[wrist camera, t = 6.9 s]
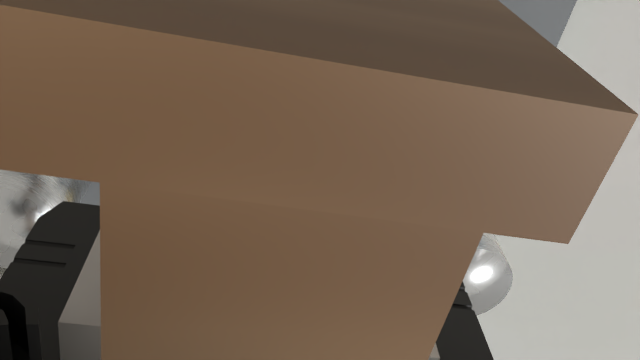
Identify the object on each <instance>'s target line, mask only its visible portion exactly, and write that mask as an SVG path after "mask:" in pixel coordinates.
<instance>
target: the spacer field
mask: <svg viewBox="0 0 640 360" xmlns="http://www.w3.org/2000/svg"><path fill="white" fill-rule="evenodd" d="M90 184H91V181H84V180H76V179H68V178H61V177H53V176H46V175H38V174H30V173H23V172H15V171H7V170H0V268H6V269H7V268H8V266H9V265H10V263H11V262H13V261H14V257H15V255H16V253H17V252H18V250H19V249H20V247H21V245H22V244H24V243H25V239H26V237H27V236H28V234H29V233H30V231H31V229H32V228H33V226H34V224H35V223H36V221H37V220H38V218H39V217H41V216H42V215H43V214H45V213H46V212H48V211H49V210H51V209H52V208H54V207H55V206H57V205H58V204H60V203H61V202H62V201H67V202H75V203H81V201H82V199H83V197H84V195H85V193H86V192H87V190H88V188H89V186H90ZM463 283H464V286H465V292H467V293H468V296H469V298H470V301H471V304H472V310H474V311H475V314H476V315H479V314H482V313H484V312H486V311H488V310H490V309H492V308H493V307H495V306H496V305H497V304H499V303H500V302H501V301H502V300H503V299H504V297H505V296H506V295H507V293H508V292H509V290H510V287H511V284H512V271H511V268H510V266H509V264H508V262H507V260H506V258H505V256H504V254H503V252H502V250H501V248H500V245H499V243H498V241H497V239H496V237H495V235H494V234H489V233H483V236H482V238H481V240H480V242H479V245H478V247H477V249H476V252H475V254H474V256H473V258H472V261H471V263H470V265H469V268H468V270H467V272H466V274H465V277H464V279H463Z"/></svg>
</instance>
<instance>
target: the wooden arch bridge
mask: <svg viewBox="0 0 640 360" xmlns="http://www.w3.org/2000/svg"><path fill="white" fill-rule="evenodd" d="M637 116H638V114H637V113H636V112H635V111H633V110H632V109H631V108H630V107H629V106H627V105H626V104H625V103H624V102H622V101H621V100H620V99H619V98H617V97H616V96H615V95H614V94H613V93H611V92H610V91H609V90H608V89H606V88H605V87H604V86H603V85H601V84H600V83H599V82H598V81H597V80H595V79H594V78H593V77H592V76H590V75H589V74H588V73H587V72H586V71H584V70H583V69H582V68H581V67H579V66H578V65H577V64H576V63H574V62H573V61H572V60H571V59H570V58H568V57H567V56H566V55H565V54H563V53H562V52H561V51H560V50H559V49H557V48H556V47H555V46H554V45H552V44H551V43H550V42H549V41H547V40H546V39H545V38H544V37H543V36H541V35H540V34H539V33H538V32H536V31H535V30H534V29H533V28H532V27H530V26H529V25H528V24H527V23H525V22H524V21H523V20H522V19H520V18H519V17H518V16H517V15H516V14H514V13H513V12H512V11H511V10H509V9H508V8H507V7H506V6H505V5H503V4H502V3H501V2H500V1H498V0H0V170H7V171H15V172H23V173H30V174H38V175H46V176H53V177H61V178H68V179H76V180H84V181H91V182H99V183H100V293H101V360H428V359H429V356H430V354H431V352H432V350H433V347H434V345H435V343H436V340H437V338H438V336H439V334H440V331H441V329H442V327H443V324H444V322H445V320H446V318H447V315H448V313H449V311H450V309H451V306H452V304H453V302H454V299H455V297H456V295H457V293H458V290H459V288H460V286H461V283H462V281H463V279H464V277H465V274H466V272H467V270H468V268H469V265H470V263H471V261H472V258H473V256H474V254H475V252H476V249H477V247H478V245H479V242H480V240H481V238H482V236H483V233H489V234H497V235H504V236H512V237H519V238H527V239H535V240H542V241H550V242H558V243H565V244H568V243H569V241H570V240H571V238H572V236H573V234H574V232H575V230H576V229H577V227H578V225H579V223H580V221H581V219H582V218H583V216H584V214H585V212H586V210H587V208H588V207H589V205H590V203H591V201H592V199H593V197H594V195H595V194H596V192H597V190H598V188H599V186H600V184H601V183H602V181H603V179H604V177H605V175H606V173H607V172H608V170H609V168H610V166H611V164H612V162H613V161H614V159H615V157H616V155H617V153H618V151H619V150H620V148H621V146H622V144H623V142H624V140H625V139H626V137H627V135H628V133H629V131H630V129H631V127H632V126H633V124H634V122H635V120H636V118H637Z"/></svg>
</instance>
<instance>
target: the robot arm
mask: <svg viewBox="0 0 640 360" xmlns="http://www.w3.org/2000/svg"><path fill="white" fill-rule="evenodd" d="M0 360H101V293H100V206H99V205H91V204H83V203H75V202H67V201H62V202H61V203H60V204H58V205H57V206H55V207H54V208H52V209H51V210H49V211H48V212H46V213H45V214H43V215H42V216H41V217H39V218H38V220H37V221H36V223H35V224H34V226H33V228H32V229H31V231H30V233H29V234H28V236H27V237H26V239H25V243H24V244H22V245H21V247H20V249H19V250H18V252H17V253H16V255H15V257H14V261H13V262H11V263H10V265H9V266H8V268H7V269H6V271H5V273H4V274H3V276H2V277H1V279H0ZM428 360H493V357H492V354H491V352H490V349H489V347H488V344H487V342H486V339H485V337H484V334H483V332H482V329H481V326H480V324H479V321H478V319H477V316H476V314H475V311H474V310H472V304H471V301H470V298H469V296H468V293H467V292H465V286H464V283H463V281H462V283H461V286H460V288H459V290H458V293H457V295H456V297H455V299H454V302H453V304H452V306H451V309H450V311H449V313H448V315H447V318H446V320H445V322H444V324H443V327H442V329H441V331H440V334H439V336H438V338H437V340H436V343H435V345H434V347H433V350H432V352H431V354H430V356H429V359H428Z"/></svg>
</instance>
